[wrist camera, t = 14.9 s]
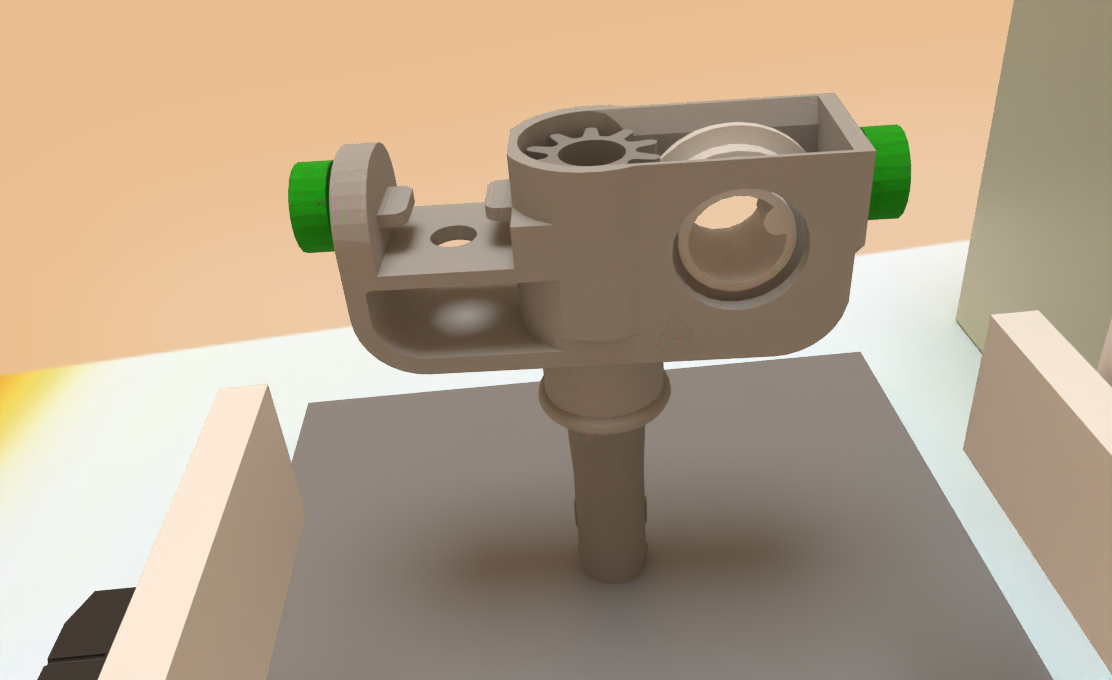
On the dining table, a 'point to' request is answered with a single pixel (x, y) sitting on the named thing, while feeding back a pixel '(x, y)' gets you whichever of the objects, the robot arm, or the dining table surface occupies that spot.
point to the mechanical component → (611, 265)
